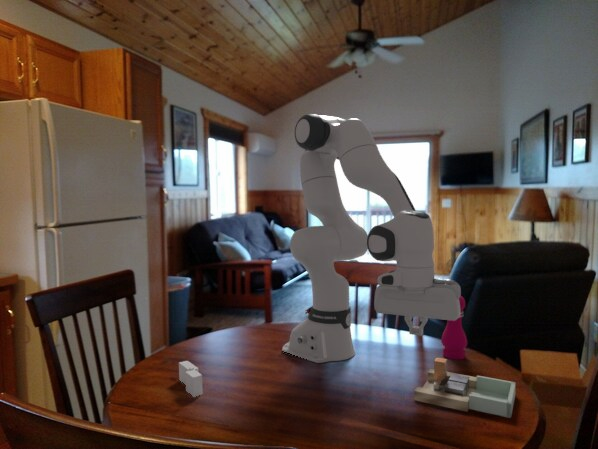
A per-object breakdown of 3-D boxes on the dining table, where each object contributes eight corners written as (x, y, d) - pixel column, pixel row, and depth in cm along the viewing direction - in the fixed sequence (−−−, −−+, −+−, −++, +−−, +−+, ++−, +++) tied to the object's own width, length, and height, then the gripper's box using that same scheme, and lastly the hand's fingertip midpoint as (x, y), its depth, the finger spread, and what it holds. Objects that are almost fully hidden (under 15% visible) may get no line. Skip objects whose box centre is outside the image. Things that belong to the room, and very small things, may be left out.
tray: (468, 413, 95) (468, 395, 95) (477, 391, 105) (477, 375, 105) (510, 422, 91) (511, 403, 90) (515, 399, 101) (515, 382, 101)
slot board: (414, 404, 99) (414, 391, 99) (430, 379, 112) (430, 368, 112) (467, 416, 94) (467, 402, 93) (478, 389, 106) (478, 377, 106)
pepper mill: (469, 361, 125) (469, 292, 123) (442, 359, 126) (443, 291, 125) (464, 352, 132) (465, 286, 130) (439, 350, 133) (440, 286, 132)
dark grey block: (448, 391, 103) (448, 379, 103) (451, 385, 106) (452, 373, 106) (466, 395, 101) (466, 382, 101) (469, 388, 104) (469, 376, 104)
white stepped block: (175, 378, 117) (174, 357, 117) (217, 377, 117) (217, 356, 116) (156, 404, 102) (155, 380, 102) (205, 404, 102) (204, 380, 101)
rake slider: (430, 395, 100) (430, 365, 100) (439, 381, 108) (439, 353, 108) (441, 397, 99) (441, 367, 99) (449, 383, 107) (449, 354, 106)
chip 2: (444, 399, 99) (444, 386, 99) (448, 392, 102) (448, 380, 102) (462, 403, 97) (462, 390, 97) (465, 396, 100) (466, 383, 100)
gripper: (463, 278, 102) (463, 336, 103) (379, 273, 113) (381, 326, 113) (458, 282, 97) (458, 343, 97) (371, 277, 107) (372, 332, 108)
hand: (416, 334), depth 105 cm, fingers closed
